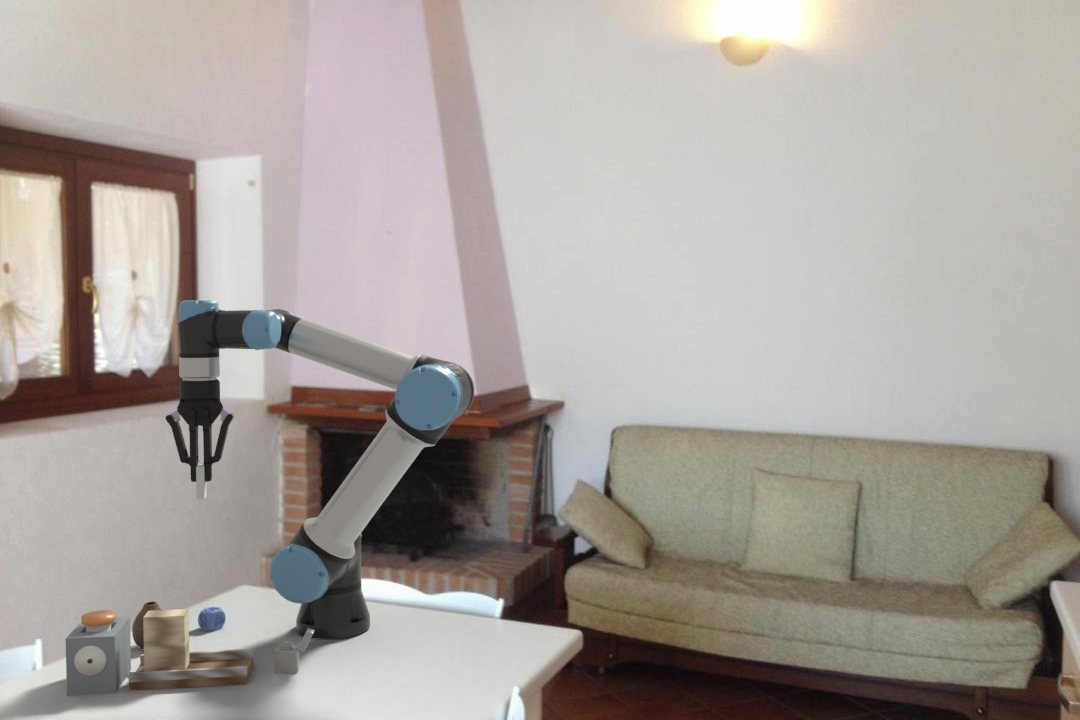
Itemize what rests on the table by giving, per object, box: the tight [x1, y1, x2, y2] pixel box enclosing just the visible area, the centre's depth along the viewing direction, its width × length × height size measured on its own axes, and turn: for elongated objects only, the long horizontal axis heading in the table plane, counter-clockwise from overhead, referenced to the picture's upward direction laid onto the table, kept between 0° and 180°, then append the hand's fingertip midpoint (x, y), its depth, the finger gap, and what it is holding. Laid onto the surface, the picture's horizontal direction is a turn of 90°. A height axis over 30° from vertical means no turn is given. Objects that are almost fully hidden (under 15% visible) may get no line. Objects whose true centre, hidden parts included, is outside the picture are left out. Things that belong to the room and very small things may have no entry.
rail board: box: [127, 648, 254, 692], centre depth 182 cm, size 20×10×3 cm, turn 99°
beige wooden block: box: [143, 608, 190, 671], centre depth 181 cm, size 7×4×10 cm, turn 99°
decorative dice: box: [197, 606, 227, 632], centre depth 209 cm, size 4×4×4 cm
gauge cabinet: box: [65, 616, 132, 696], centre depth 179 cm, size 8×12×10 cm
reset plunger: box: [80, 609, 117, 632], centre depth 179 cm, size 6×6×8 cm
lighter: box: [273, 628, 315, 675], centre depth 185 cm, size 7×2×8 cm, turn 95°
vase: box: [131, 601, 163, 651], centre depth 198 cm, size 7×7×9 cm
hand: (201, 497), depth 198 cm, fingers closed
